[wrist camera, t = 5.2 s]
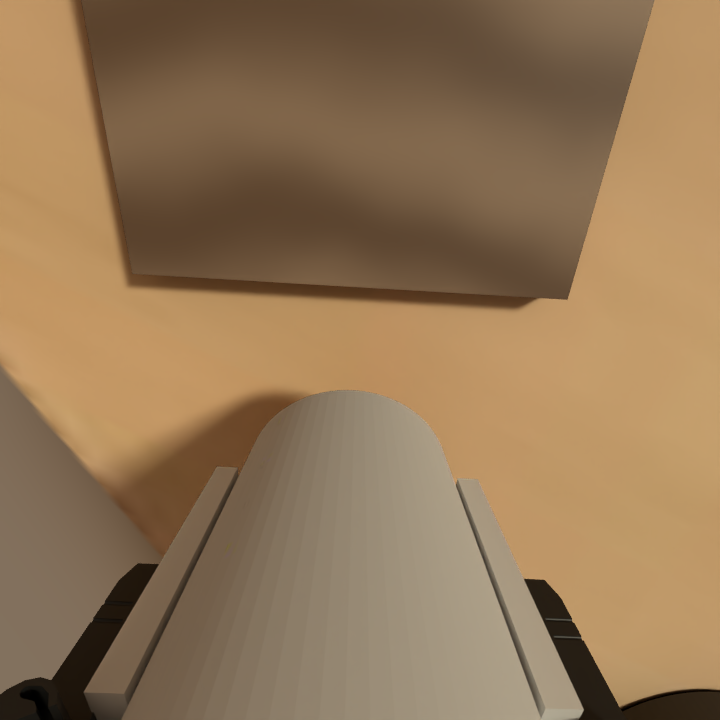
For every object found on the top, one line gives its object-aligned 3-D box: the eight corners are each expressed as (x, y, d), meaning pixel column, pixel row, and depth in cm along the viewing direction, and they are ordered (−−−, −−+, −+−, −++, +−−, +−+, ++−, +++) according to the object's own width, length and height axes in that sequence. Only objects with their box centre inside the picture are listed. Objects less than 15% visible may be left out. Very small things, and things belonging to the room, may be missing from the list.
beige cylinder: (222, 510, 15) (-179, 1346, 4) (296, 354, 12) (-310, 1590, 1) (387, 570, 16) (443, 1317, 5) (485, 442, 14) (1037, 1407, 3)
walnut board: (548, 292, 16) (567, 299, 15) (152, 268, 15) (132, 273, 14) (699, -268, 10) (755, -348, 8) (53, -338, 9) (-1, -435, 8)
